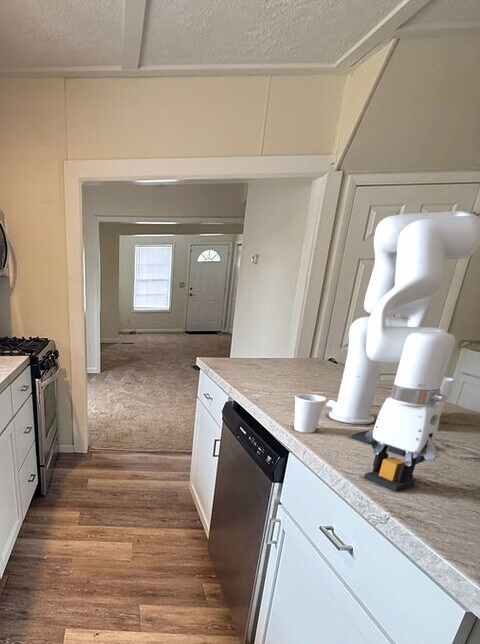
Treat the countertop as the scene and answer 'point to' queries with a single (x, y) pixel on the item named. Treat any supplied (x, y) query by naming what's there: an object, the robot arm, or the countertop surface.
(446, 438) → the countertop surface
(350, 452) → the countertop surface
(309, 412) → the dixie cup
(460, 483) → the countertop surface
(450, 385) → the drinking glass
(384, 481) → the pad
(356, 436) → the base pad
